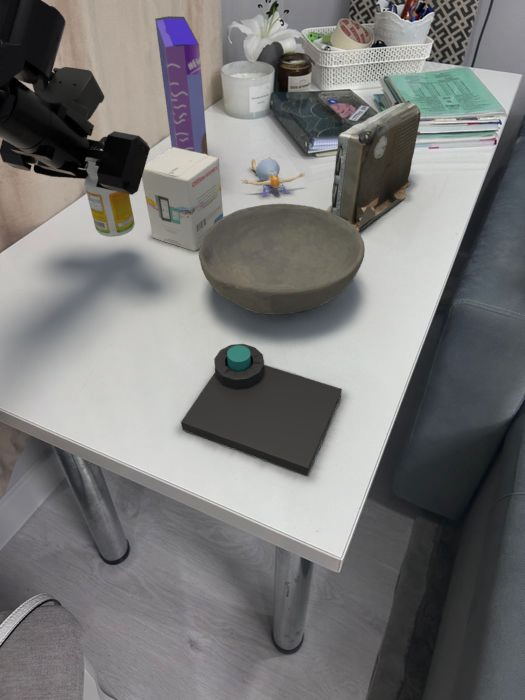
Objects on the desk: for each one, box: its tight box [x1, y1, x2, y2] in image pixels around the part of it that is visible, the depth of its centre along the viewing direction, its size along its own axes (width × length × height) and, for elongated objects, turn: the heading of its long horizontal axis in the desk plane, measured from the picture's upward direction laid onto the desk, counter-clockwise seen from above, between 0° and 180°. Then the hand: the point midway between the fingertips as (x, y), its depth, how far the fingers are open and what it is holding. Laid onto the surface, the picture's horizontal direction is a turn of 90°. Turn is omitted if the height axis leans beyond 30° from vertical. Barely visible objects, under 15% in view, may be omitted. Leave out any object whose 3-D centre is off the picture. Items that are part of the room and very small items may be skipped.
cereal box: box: [154, 15, 209, 155], centre depth 87 cm, size 17×5×24 cm, turn 13°
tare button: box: [227, 345, 251, 371], centre depth 57 cm, size 3×3×2 cm
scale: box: [180, 343, 343, 477], centre depth 55 cm, size 14×12×3 cm
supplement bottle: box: [84, 161, 135, 238], centre depth 69 cm, size 5×5×10 cm
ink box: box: [141, 146, 224, 252], centre depth 78 cm, size 8×8×12 cm
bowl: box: [198, 203, 366, 315], centre depth 68 cm, size 21×21×8 cm
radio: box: [325, 100, 421, 232], centre depth 84 cm, size 23×9×15 cm, turn 137°
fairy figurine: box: [242, 156, 305, 198], centre depth 93 cm, size 12×5×12 cm
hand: (112, 179), depth 69 cm, fingers closed on supplement bottle, 5 cm apart
